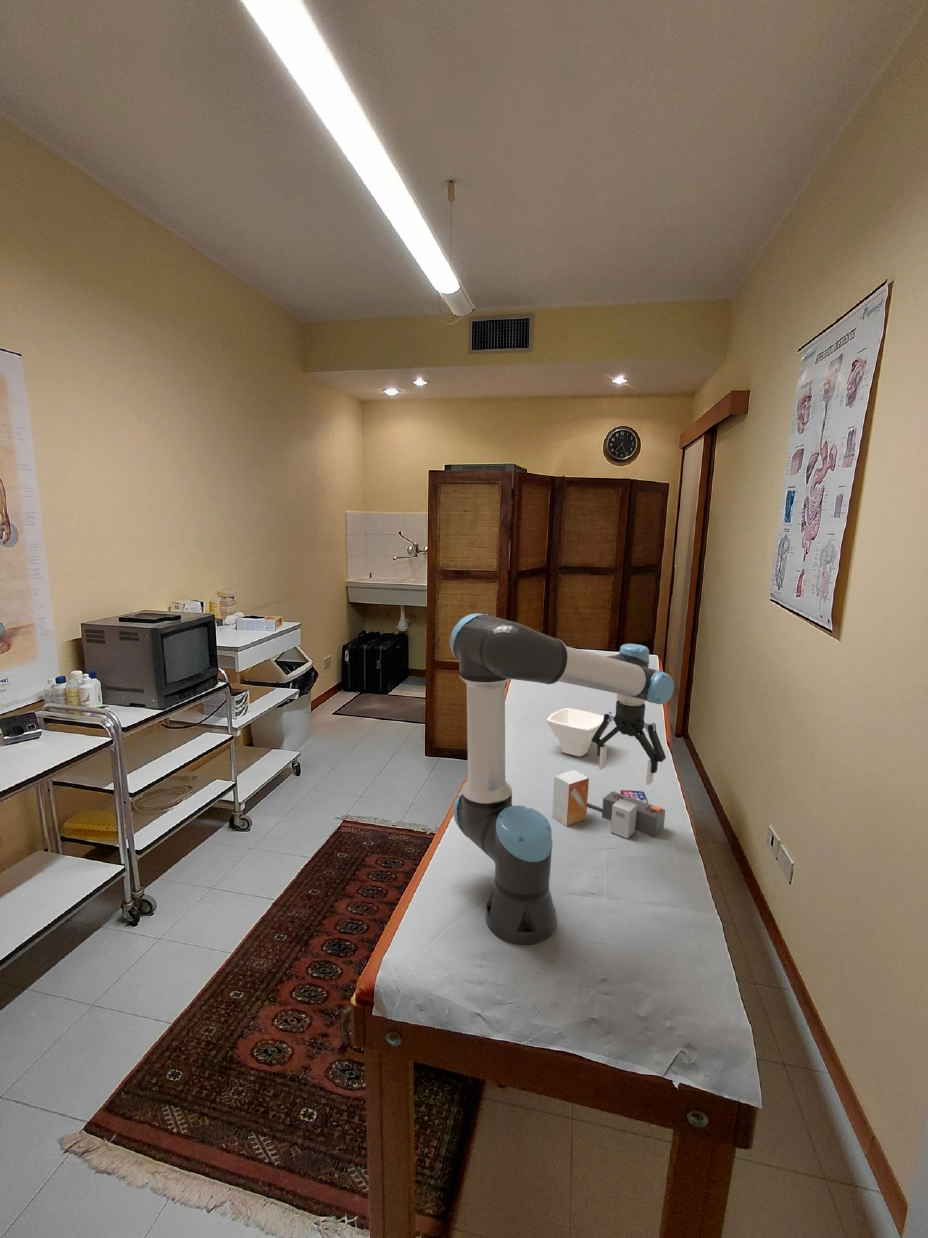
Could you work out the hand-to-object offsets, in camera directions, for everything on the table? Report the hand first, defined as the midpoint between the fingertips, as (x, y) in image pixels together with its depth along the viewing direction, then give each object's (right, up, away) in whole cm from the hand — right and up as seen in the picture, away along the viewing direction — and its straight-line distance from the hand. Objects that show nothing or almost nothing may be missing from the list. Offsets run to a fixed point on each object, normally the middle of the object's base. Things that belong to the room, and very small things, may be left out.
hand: (625, 775), depth 149 cm
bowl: (-3, -8, +56) cm, 56 cm away
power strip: (+1, -15, +10) cm, 18 cm away
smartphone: (+9, -15, +19) cm, 26 cm away
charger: (+1, -16, +4) cm, 17 cm away
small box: (-14, -15, +9) cm, 23 cm away
